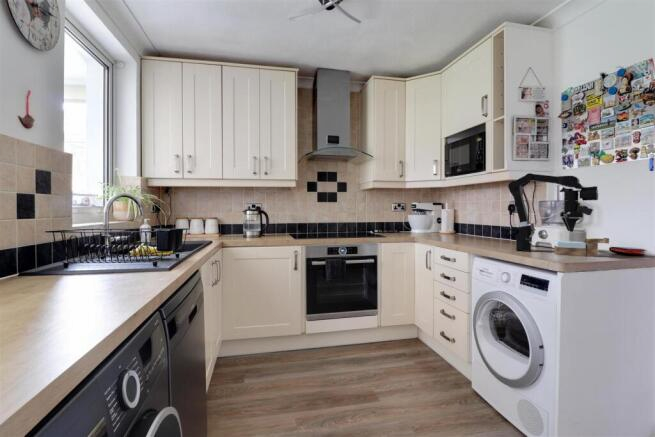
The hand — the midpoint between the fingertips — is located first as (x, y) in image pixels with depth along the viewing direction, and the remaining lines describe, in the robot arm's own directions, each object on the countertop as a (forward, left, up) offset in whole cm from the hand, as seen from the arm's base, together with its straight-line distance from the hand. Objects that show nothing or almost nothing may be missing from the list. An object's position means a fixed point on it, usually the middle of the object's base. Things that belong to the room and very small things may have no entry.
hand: (570, 231), depth 159 cm
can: (+7, +20, -12) cm, 24 cm away
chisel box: (+2, 0, -12) cm, 12 cm away
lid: (0, 0, -8) cm, 8 cm away
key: (+11, 0, -5) cm, 12 cm away
